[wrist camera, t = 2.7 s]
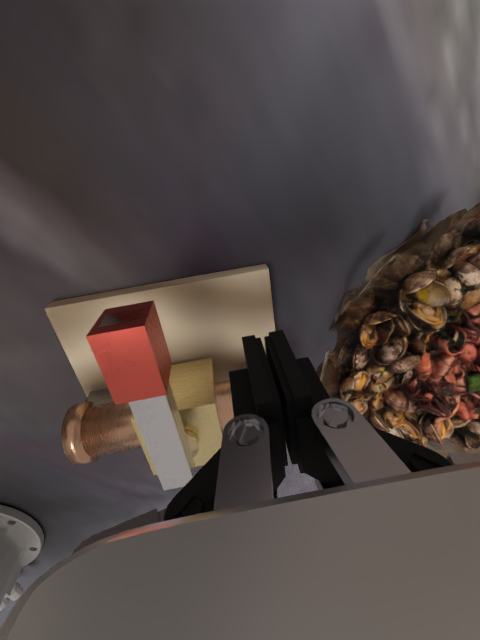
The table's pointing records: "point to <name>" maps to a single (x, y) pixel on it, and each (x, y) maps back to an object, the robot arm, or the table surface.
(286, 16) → the table surface
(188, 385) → the valve pipe
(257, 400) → the robot arm
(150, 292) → the beige board
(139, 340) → the valve lever
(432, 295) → the food dish
